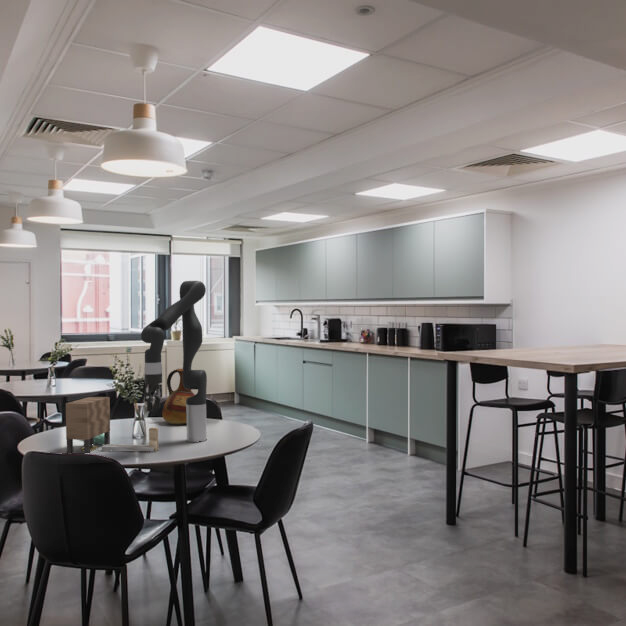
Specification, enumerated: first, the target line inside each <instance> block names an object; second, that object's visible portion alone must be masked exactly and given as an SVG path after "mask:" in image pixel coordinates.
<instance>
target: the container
mask: <svg viewBox="0 0 626 626" xmlns="http://www.w3.org/2000/svg"><path fill="white" fill-rule="evenodd" d="M97 443H98V445H100V444H104V433H103V434H101V435H98V436H96V437H94V444H97Z"/></svg>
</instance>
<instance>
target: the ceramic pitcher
mask: <svg viewBox="0 0 626 626" xmlns="http://www.w3.org/2000/svg"><path fill="white" fill-rule="evenodd" d="M176 373H178V375H179V384H178V387H177V389H176V390H173V389H172V386H171V381H172V378H173V376H174V375H175V374H176ZM182 376H183V368H178V367H177V369H176V368H175V369H173V370H172V371H171V372H169V374H168V376H167V379H166V386H167V390H168V397H167V399H166V400H165V402H164V405H163V407H162V413H161V414H162V415H161V416H162V418H163V420H164V421H165V422H166V423H169V424H170V425H171V424H172V425H185V424H186V425H187V413H186V399H187V398H188V397H191V396H194V395H196V394H195V393H194V392H193V391H192V389H185V388H184V387H183V381H182Z"/></svg>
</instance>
